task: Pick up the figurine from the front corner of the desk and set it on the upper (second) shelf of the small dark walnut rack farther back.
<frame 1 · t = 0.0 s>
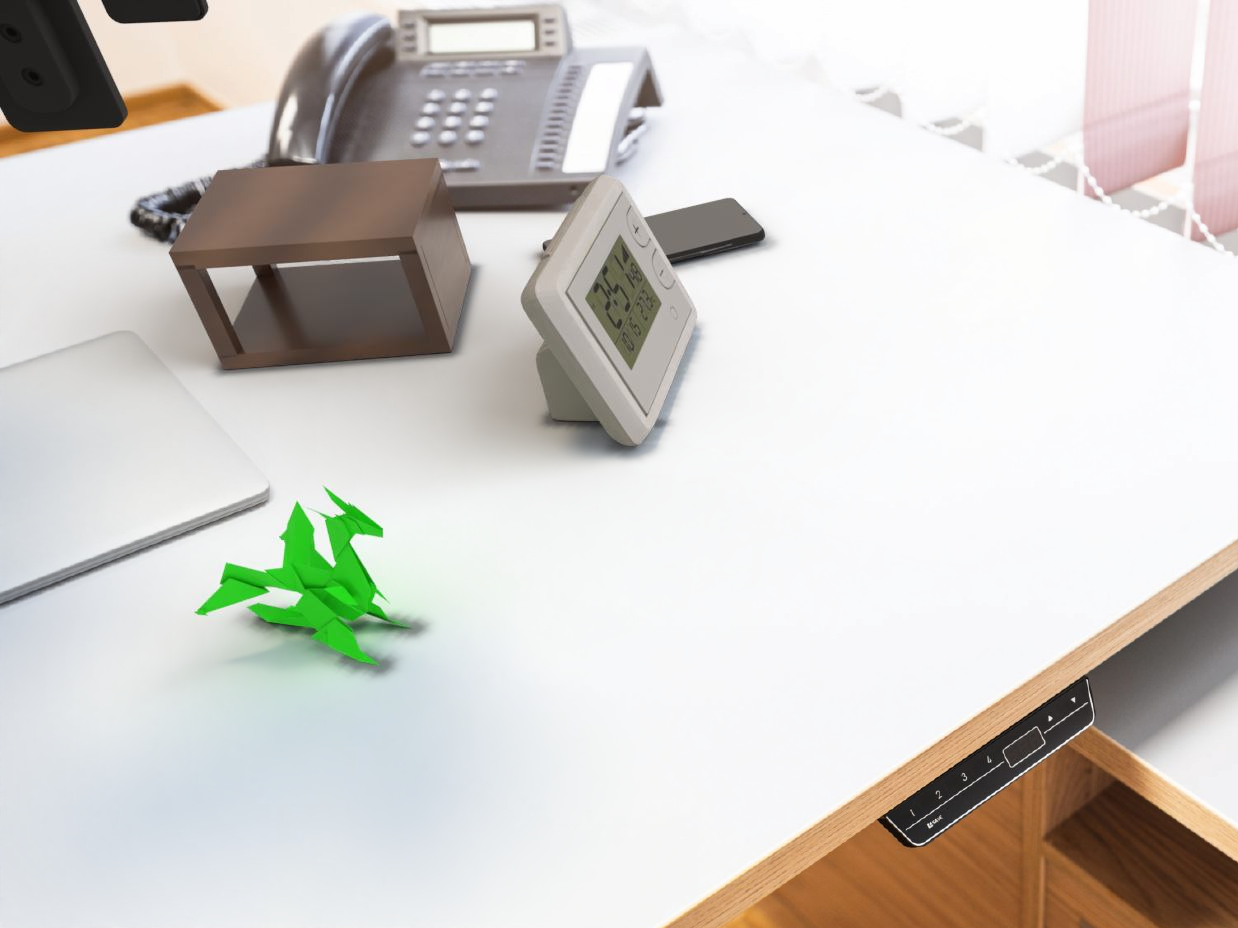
hand: (121, 68, 44), 29 cm above the table, tool pointing down, fingers open, 9 cm apart
rack: (355, 315, 91), on the table
smartphone: (656, 249, 98), on the table
digital clock: (636, 387, 85), on the table
figurine: (343, 637, 68), on the table
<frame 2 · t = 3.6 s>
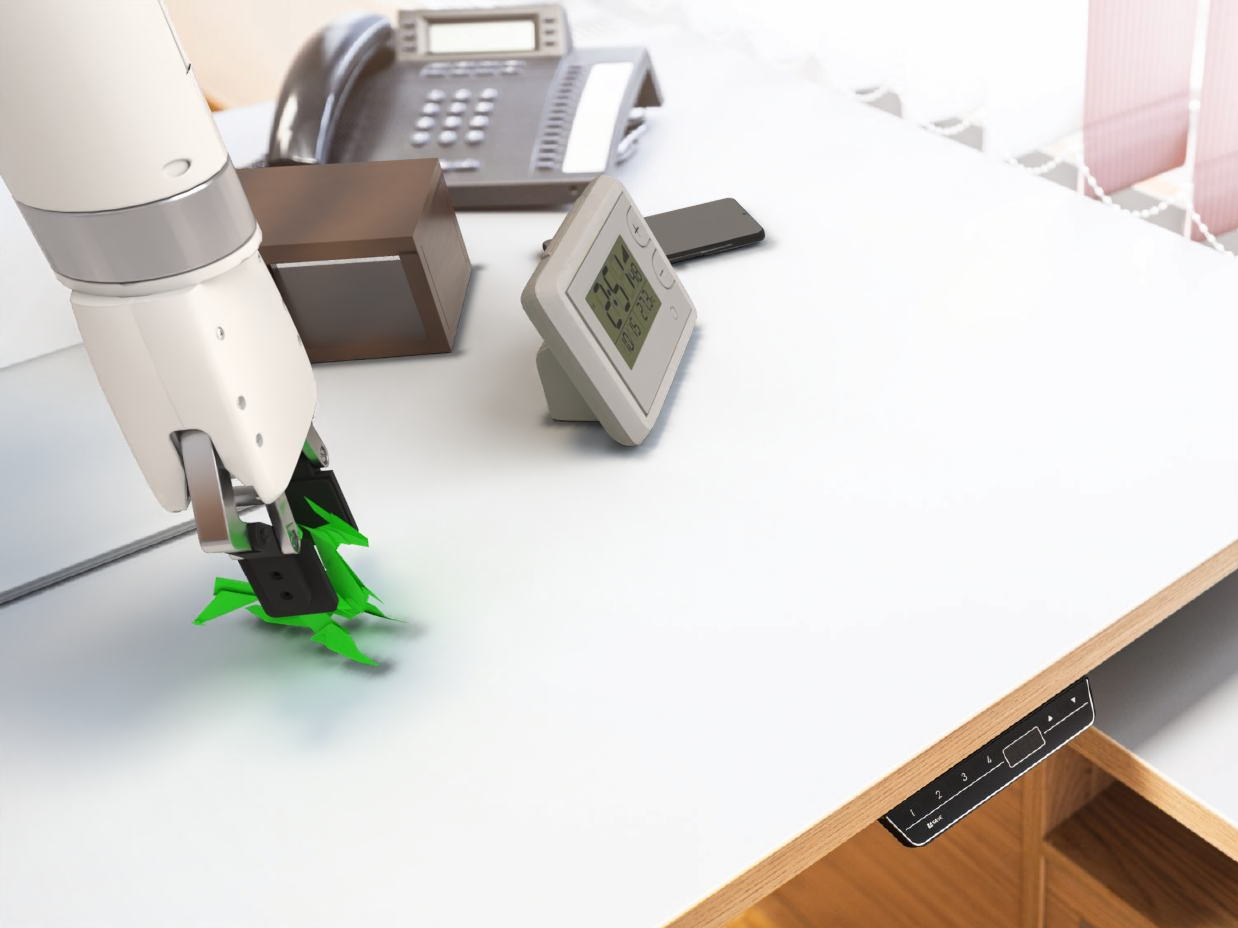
hand: (314, 572, 65), 4 cm above the table, tool pointing down, fingers closed on figurine, 4 cm apart
figurine: (342, 636, 68), on the table, touching gripper
everything else where it was.
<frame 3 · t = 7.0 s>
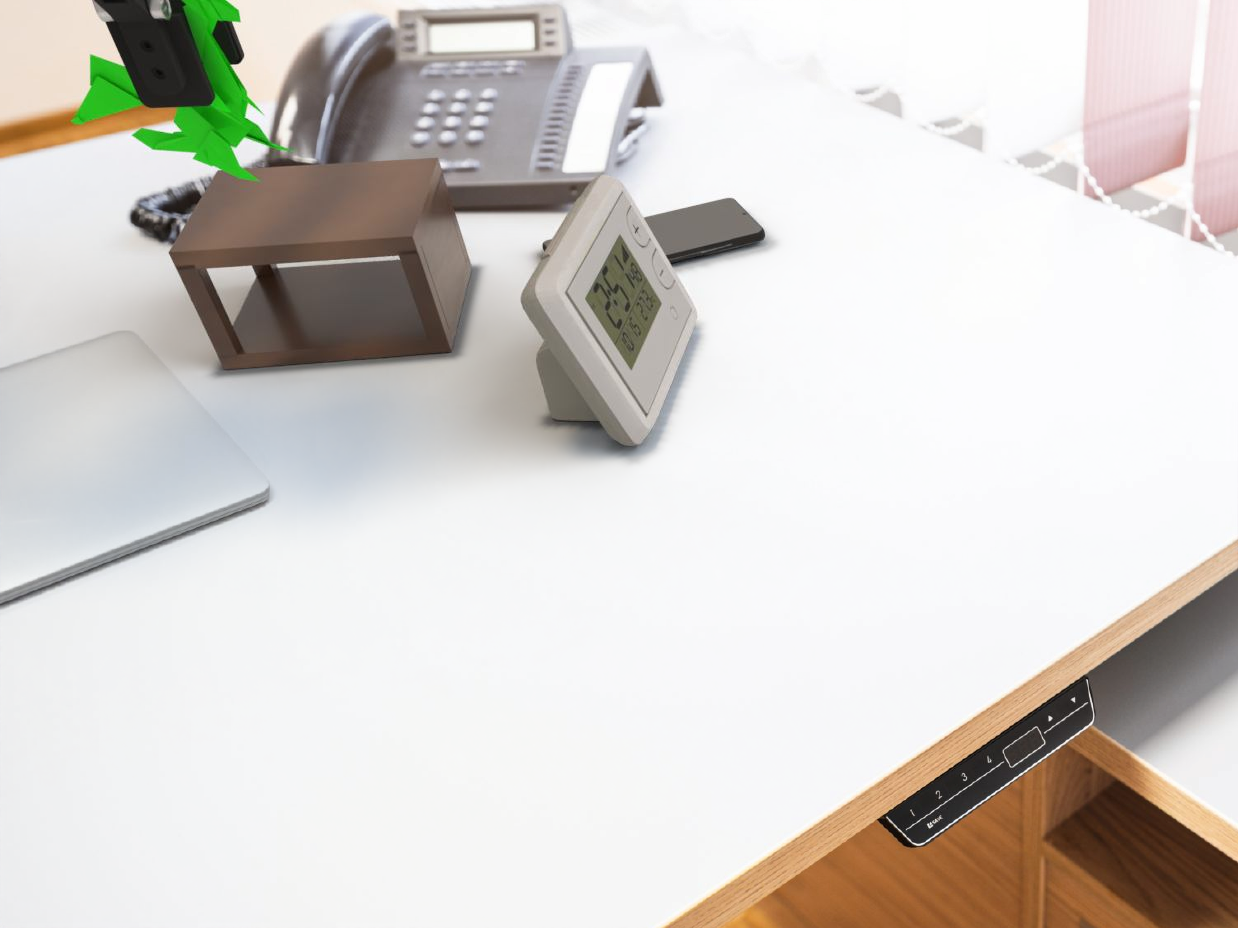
hand: (195, 79, 65), 21 cm above the table, tool pointing down, fingers closed on figurine, 4 cm apart
figurine: (226, 162, 68), point 17 cm above the table, touching gripper
everything else where it was.
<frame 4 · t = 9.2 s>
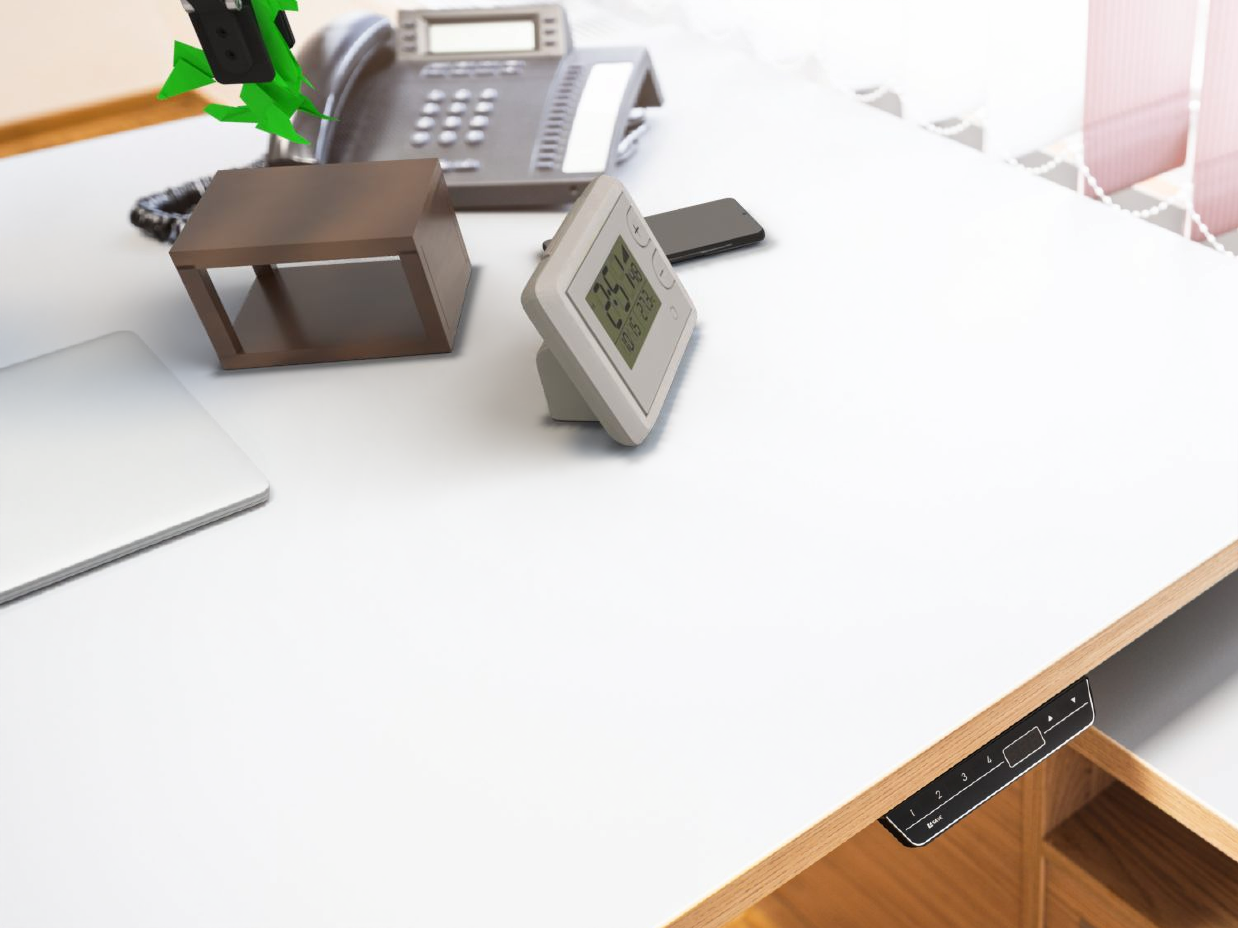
hand: (257, 61, 79), 17 cm above the table, tool pointing down, fingers closed on figurine, 4 cm apart
figurine: (282, 130, 81), point 13 cm above the table, touching gripper
everything else where it was.
when the fingers open (12 cm above the table, at t = 10.8 s): figurine stays where it is, resting on rack.
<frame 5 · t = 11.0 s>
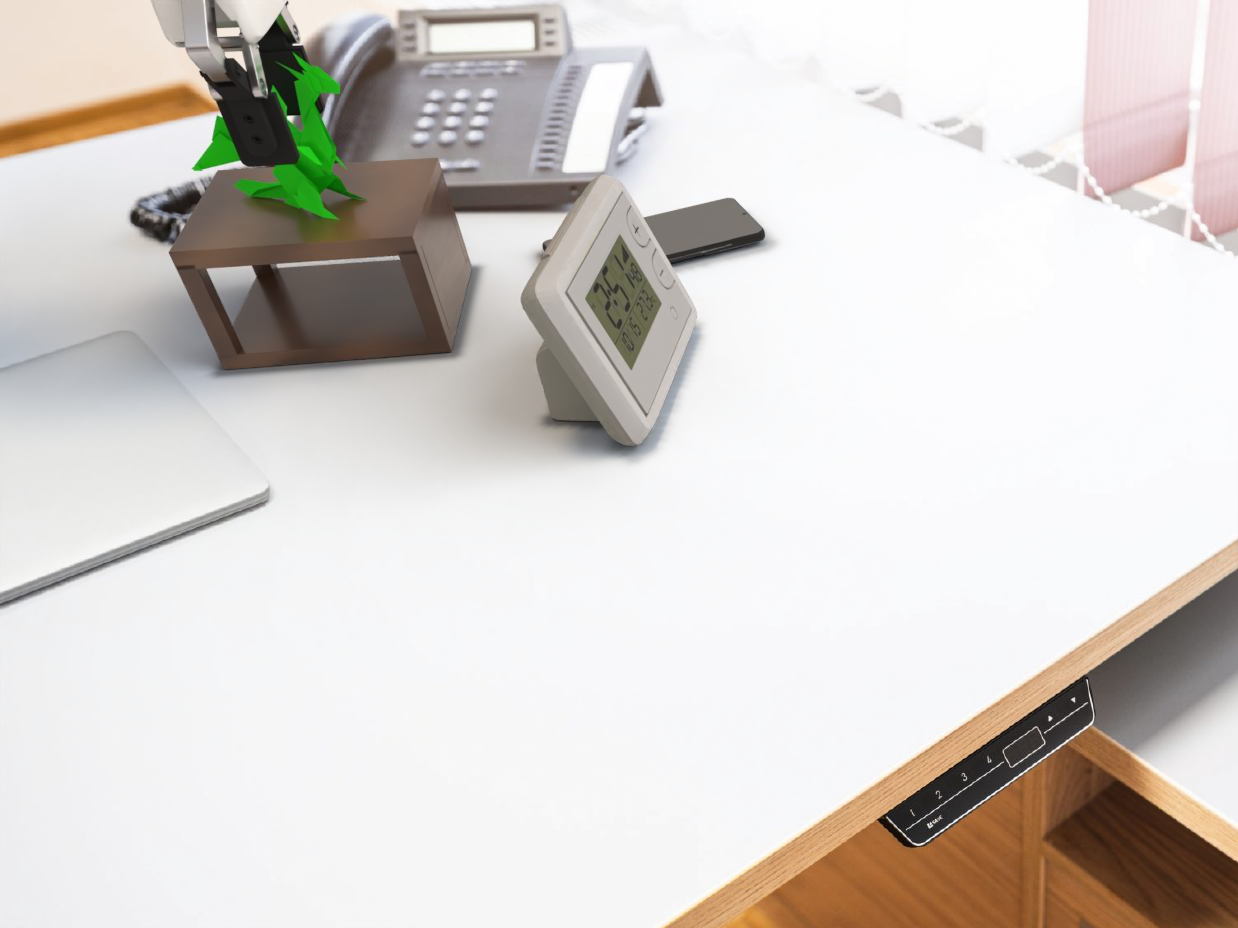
hand: (285, 135, 82), 12 cm above the table, tool pointing down, fingers open, 7 cm apart
figurine: (310, 206, 85), point 8 cm above the table, touching rack
everything else where it was.
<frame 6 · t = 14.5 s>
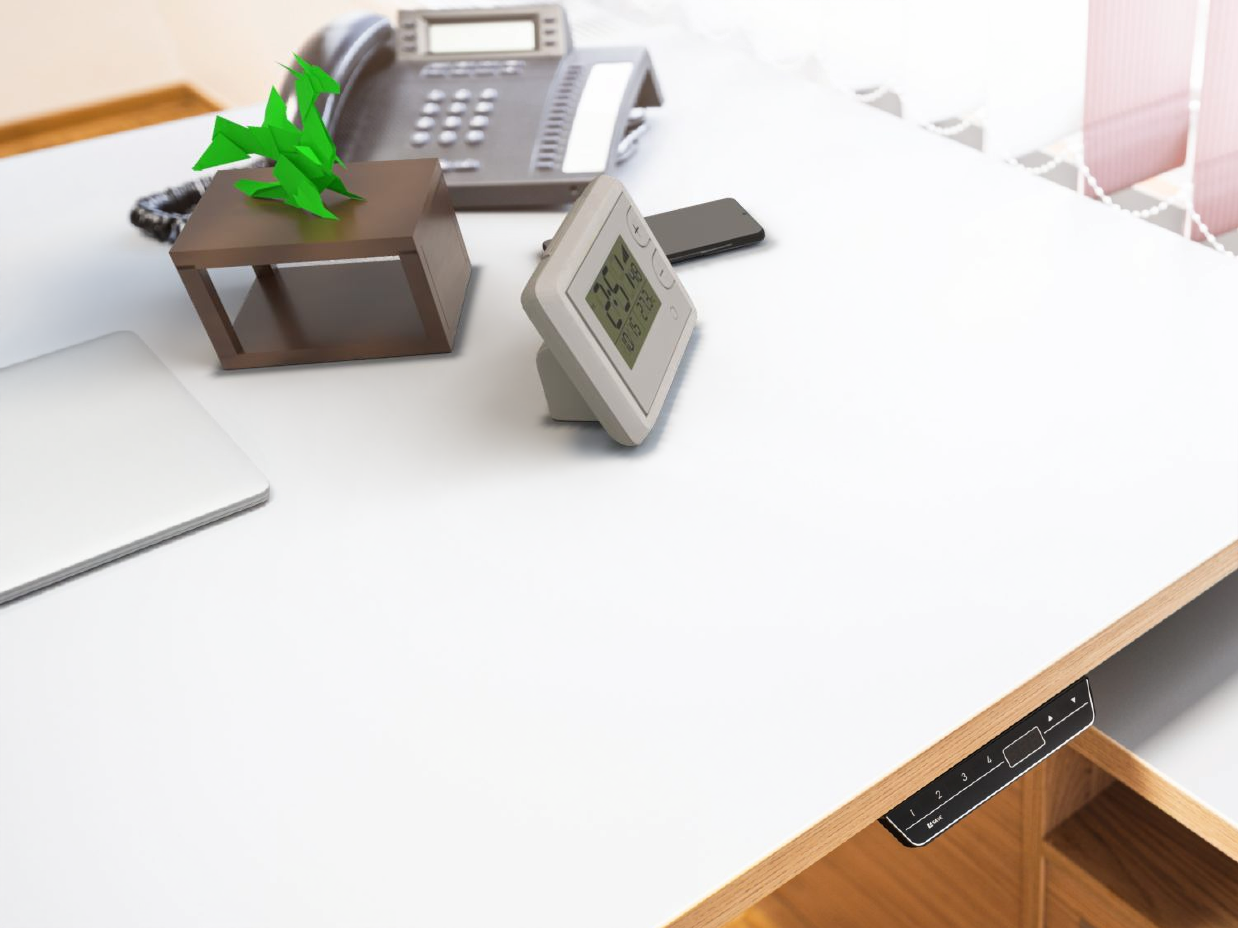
nothing on the table moved.
at the end: figurine inside the target area on the rack (0.3 cm from its centre), point 7.8 cm above the rack's base; figurine tilted 0°; the gripper is holding nothing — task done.
